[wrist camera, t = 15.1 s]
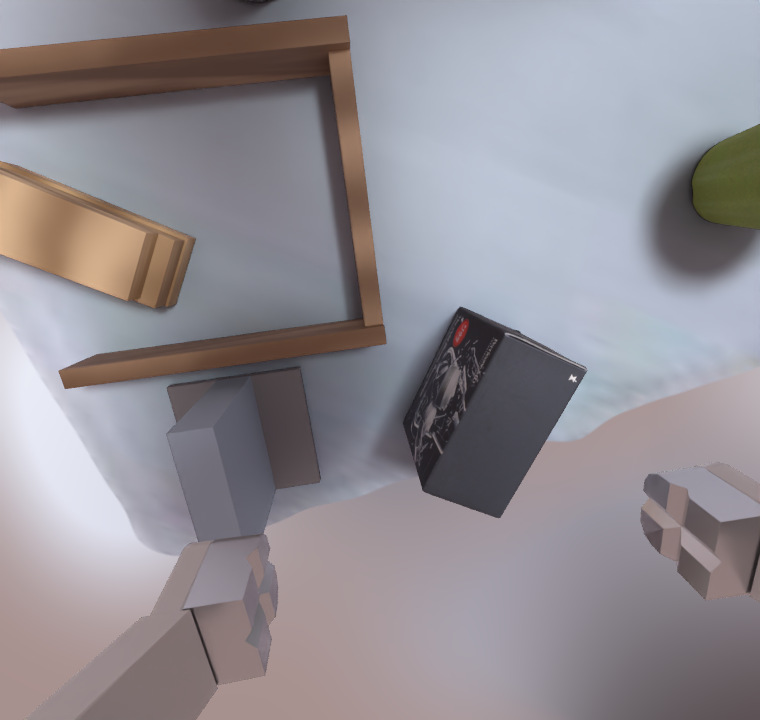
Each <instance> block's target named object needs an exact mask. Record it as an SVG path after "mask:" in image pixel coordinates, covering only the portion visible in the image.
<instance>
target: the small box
mask: <svg viewBox="0 0 760 720" xmlns="http://www.w3.org/2000/svg"><path fill="white" fill-rule="evenodd" d="M586 372H587V368H586V367H584V366H582V365H580V364H578V363H576V362H573V361H571V360H569V359H568V358H566V357H564V356H562V355H560V354H559V353H557V352H555V351H553V350H551V349H550V348H548V347H546V346H544V345H542V344H540V343H538V342H536V341H534V340H532V339H530V338H529V337H526V336H525V335H523V334H521V333H520V332H519V331H517V330H513V329H511V328H508V327H506V326H504V325H502V324H499V323H497V322H495V321H492V320H490V319H488V318H486V317H483V316H482V315H479V314H477V313H475V312H472V311H470V310H468V309H466V308H463V307H460V308H459V309H458V311H457V313H456V315H455V317H454V319H453V321H452V323H451V325H450V327H449V329H448V332H447V334H446V336H445V337H444V340H443V342H442V344H441V346H440V348H439V350H438V352H437V354H436V356H435V358H434V360H433V362H432V364H431V366H430V369H429V370H428V372H427V375H426V377H425V379H424V381H423V383H422V385H421V387H420V389H419V391H418V393H417V395H416V397H415V399H414V401H413V403H412V405H411V407H410V409H409V411H408V413H407V415H406V417H405V420H404V422H403V425H404V428H405V431H406V435H407V438H408V442H409V445H410V448H411V452H412V455H413V459H414V462H415V466H416V469H417V472H418V476H419V479H420V482H421V486H422V490H423V491H424V492H426V493H429V494H431V495H433V496H436V497H439V498H442V499H445V500H448V501H450V502H454V503H456V504H459V505H462V506H465V507H468V508H470V509H473V510H476V511H479V512H482V513H485V514H488V515H490V516H493V517H496V518H500V517H501V515H502V514H503V512H504V510H505V509H506V507H507V505H508V504H509V502H510V500H511V499H512V497H513V495H514V494H515V492H516V490H517V489H518V487H519V485H520V484H521V482H522V480H523V478H524V477H525V475H526V473H527V472H528V470H529V468H530V467H531V465H532V463H533V462H534V460H535V458H536V456H537V455H538V453H539V451H540V450H541V448H542V446H543V444H544V443H545V441H546V440H547V438H548V436H549V435H550V433H551V431H552V429H553V428H554V426H555V424H556V423H557V421H558V419H559V418H560V416H561V414H562V413H563V411H564V409H565V408H566V406H567V404H568V402H569V401H570V399H571V397H572V396H573V394H574V392H575V391H576V389H577V387H578V385H579V384H580V382H581V380H582V379H583V377H584V375H585V374H586Z"/></svg>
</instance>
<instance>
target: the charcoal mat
mask: <svg viewBox="0 0 760 720" xmlns="http://www.w3.org/2000/svg"><path fill="white" fill-rule="evenodd" d="M245 376H251V380H252V385H253V389H254V394H255V398H256V403H257V407H258V412H259V416H260V420H261V425H262V429H263V434H264V438H265V443H266V447H267V452H268V456H269V461H270V465H271V469H272V474H273V478H274V483H275V487H276V489H281V488H287V487H293V486H300V485H306V484H313V483H319V482H320V479H321V478H320V472H319V467H318V462H317V456H316V451H315V445H314V440H313V435H312V429H311V424H310V419H309V413H308V408H307V402H306V397H305V392H304V386H303V381H302V376H301V370H300V367H294V368H287V369H280V370H273V371H266V372H258V373H251V374H244V375H237V376H230V377H223V378H216V379H209V380H202V381H195V382H188V383H181V384H174V385H170V386H168V387H167V391H168V394H169V398H170V401H171V405H172V408H173V412H174V415H175V419H176V422H178V421H179V420H180V419H181V418H182V417H183V416H184V415H185V414H186V413H187V412H188V411H189V410H190V409H191V408H192V407H193V406H194V404H195V403H196V402H197V401H198V400H199V399H200V398H201V397H202V396H203V395H204V394H205V393H206V392H207V391H208V390H209V389H210V388H211V387H212V386H213V385H214V383H215V382H216V381H217V380H224V379H231V378H238V377H245Z"/></svg>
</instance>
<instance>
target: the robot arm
mask: <svg viewBox="0 0 760 720" xmlns="http://www.w3.org/2000/svg"><path fill="white" fill-rule="evenodd" d="M643 490H644V492H645V493H646V494H647V496H648V497H649V499H648V500H647V501H646V503H645V504H644V505H643V506H642V508H641V524H642V527H643V530H644V533H645V535H646V537H647V539H648V540H649V542H650V543H651V545H652V546H653V547H654V548H655V549H656V550H657V551H658V552H659V553H660V554H661V555H663V556H666V557H668V558H670V559H672V560H674V561H676V565H677V572H678V573H679V574H680V575H681V576H682V577H683V578H684V579H685V580H686V581H687V582H688V583H689V584H690V585H691V586H692V587H693V588H694V589H695V590H696V591H697V592H698V593H699V594H700V595H701V596H702V597H703V598H704V599H705V600H712V599H719V598H726V597H733V596H740V595H748V594H750V597H751V598H753V599H755V600H757V601H758V602H760V484H759V483H757V482H756V481H754V480H753V479H751V478H749V477H748V476H746V475H744V474H743V473H741V472H740V471H738V470H736V469H734V468H732V467H731V466H730V465H727V464H724V463H720V462H715V463H709V464H704V465H698V466H694V467H690V468H683V469H677V470H672V471H665V472H659V473H652V474H649V475H648V476H647V478H646V479H645V482H644V489H643ZM269 551H270V547H269V543H268V540H267V537H266V535H264V534H263V533H262V534H254V535H246V536H239V537H231V538H223V539H216V540H211V541H204V542H196V543H190V544H189V545H187V546H186V547H185V548H184V549H183V551H182V553H181V555H180V557H179V559H178V561H177V563H176V565H175V567H174V569H173V571H172V573H171V575H170V577H169V579H168V581H167V583H166V585H165V587H164V589H163V591H162V593H161V595H160V597H159V599H158V601H157V603H156V605H155V607H154V609H153V611H152V613H151V615H150V616H146V617H141V618H140V619H139V620H138V621H137V622H136V623H134V624H133V625H132V626H131V627H130V628H129V629H128V630H126V631H125V632H124V633H123V634H122V635H121V636H120V637H118V638H117V639H116V640H115V641H114V642H113V643H111V644H110V645H109V646H108V647H107V648H106V649H104V650H103V652H101V653H100V654H99V655H98V656H96V657H95V658H94V659H93V660H92V661H91V662H90V663H88V664H87V665H86V666H85V667H84V668H83V669H81V670H80V671H79V672H78V673H77V674H76V675H74V676H73V677H72V678H71V679H70V680H69V681H68V682H66V683H65V684H64V685H63V686H62V687H61V688H60V689H58V690H57V691H56V692H55V693H54V694H53V695H51V696H50V697H49V698H48V699H47V700H46V701H45V702H43V703H42V704H41V705H40V706H39V707H38V708H36V709H35V710H34V711H33V712H32V713H31V714H30V715H28V716H27V717H26V718H25V719H24V720H196V719H197V718H198V716H199V715H200V713H201V712H202V710H203V709H204V708H205V706H206V704H207V703H208V702H209V700H210V699H211V697H212V696H213V695H214V693H215V692H216V690H217V689H218V688H217V685H221V684H226V683H231V682H236V681H241V680H246V679H251V678H256V677H261V676H265V673H266V668H267V663H268V657H269V652H270V646H271V640H272V639H271V635H270V631H269V627H268V626H269V624H270V623H271V622H272V621H273V620H274V618H275V617H276V611H277V604H278V583H277V575H276V571H275V567H274V565H272V564H271V563H270V562H269V561H268V556H269Z"/></svg>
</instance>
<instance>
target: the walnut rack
mask: <svg viewBox="0 0 760 720" xmlns="http://www.w3.org/2000/svg"><path fill="white" fill-rule="evenodd" d="M326 75H330V78H331V85H332V92H333V100H334V107H335V115H336V122H337V129H338V137H339V144H340V152H341V159H342V166H343V174H344V181H345V188H346V196H347V203H348V211H349V218H350V225H351V233H352V240H353V248H354V255H355V262H356V270H357V277H358V284H359V292H360V299H361V307H362V314H363V318H360V319H353V320H346V321H338V322H331V323H324V324H316V325H309V326H302V327H294V328H287V329H280V330H272V331H265V332H258V333H250V334H243V335H236V336H228V337H221V338H214V339H206V340H199V341H192V342H184V343H177V344H170V345H162V346H155V347H148V348H140V349H133V350H126V351H118V352H111V353H104V354H97V355H94V356H92V357H90V358H87V359H85V360H83V361H80V362H78V363H76V364H73V365H71V366H69V367H66V368H64V369H62V370H59V374H60V377H61V379H62V382H63V385H64V388H65V389H69V388H76V387H83V386H90V385H97V384H105V383H112V382H119V381H126V380H133V379H140V378H147V377H155V376H162V375H169V374H176V373H183V372H190V371H197V370H205V369H212V368H219V367H226V366H233V365H240V364H247V363H255V362H262V361H269V360H276V359H283V358H290V357H297V356H305V355H312V354H319V353H326V352H333V351H340V350H347V349H355V348H362V347H369V346H376V345H383V344H386V335H385V327H384V324H383V318H382V310H381V302H380V293H379V285H378V277H377V269H376V261H375V252H374V244H373V236H372V228H371V219H370V211H369V203H368V195H367V187H366V178H365V170H364V162H363V154H362V146H361V137H360V129H359V121H358V113H357V104H356V96H355V88H354V80H353V72H352V63H351V55H350V38H349V30H348V22H347V15H345V16H335V17H325V18H314V19H304V20H294V21H284V22H274V23H264V24H253V25H243V26H233V27H223V28H213V29H203V30H192V31H182V32H172V33H162V34H152V35H142V36H131V37H121V38H111V39H101V40H91V41H81V42H70V43H60V44H50V45H40V46H30V47H20V48H9V49H0V102H1V103H4V104H6V105H8V106H11V107H13V108H23V107H33V106H42V105H52V104H61V103H70V102H80V101H89V100H99V99H108V98H118V97H127V96H137V95H146V94H156V93H165V92H175V91H184V90H194V89H203V88H213V87H222V86H231V85H241V84H250V83H260V82H269V81H279V80H288V79H298V78H307V77H317V76H326Z"/></svg>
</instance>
